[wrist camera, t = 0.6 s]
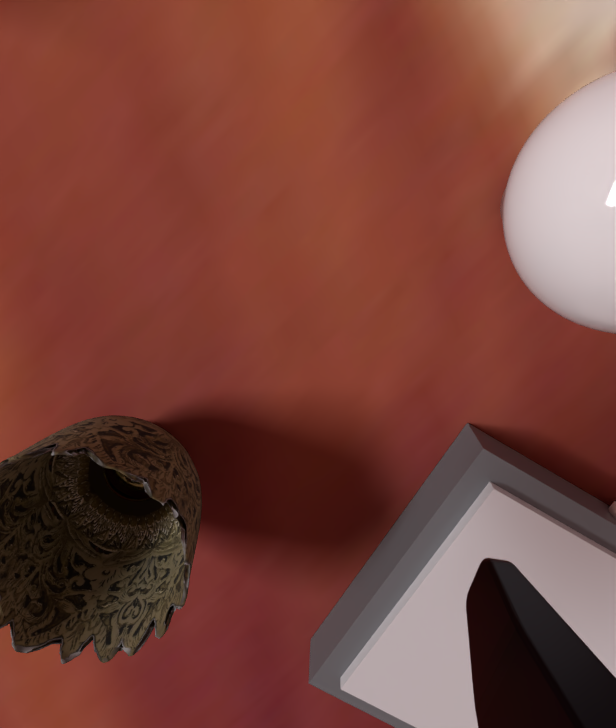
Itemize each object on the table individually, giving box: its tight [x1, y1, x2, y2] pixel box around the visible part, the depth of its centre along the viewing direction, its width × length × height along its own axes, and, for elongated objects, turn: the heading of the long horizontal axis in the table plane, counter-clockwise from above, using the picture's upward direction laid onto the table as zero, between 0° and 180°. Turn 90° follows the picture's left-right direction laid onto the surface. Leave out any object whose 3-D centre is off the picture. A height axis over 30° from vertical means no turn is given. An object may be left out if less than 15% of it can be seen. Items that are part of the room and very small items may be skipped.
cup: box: [0, 416, 202, 664], centre depth 21 cm, size 8×7×8 cm
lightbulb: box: [500, 71, 616, 334], centre depth 16 cm, size 6×6×11 cm
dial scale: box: [309, 423, 616, 728], centre depth 25 cm, size 14×16×3 cm
